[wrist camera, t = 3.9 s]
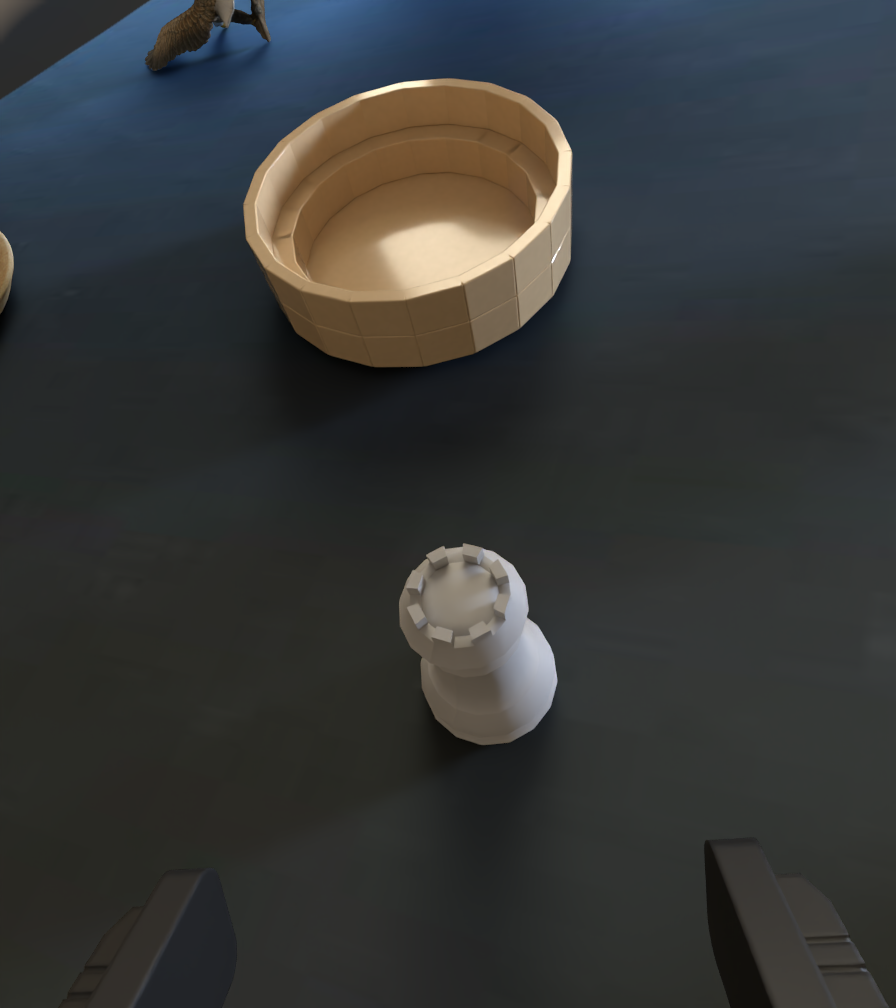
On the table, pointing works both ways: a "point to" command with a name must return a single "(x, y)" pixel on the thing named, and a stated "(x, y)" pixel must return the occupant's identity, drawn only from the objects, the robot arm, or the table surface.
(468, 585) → the rook chess piece
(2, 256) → the toy sandwich meal
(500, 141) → the bowl
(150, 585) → the table surface
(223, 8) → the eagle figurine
